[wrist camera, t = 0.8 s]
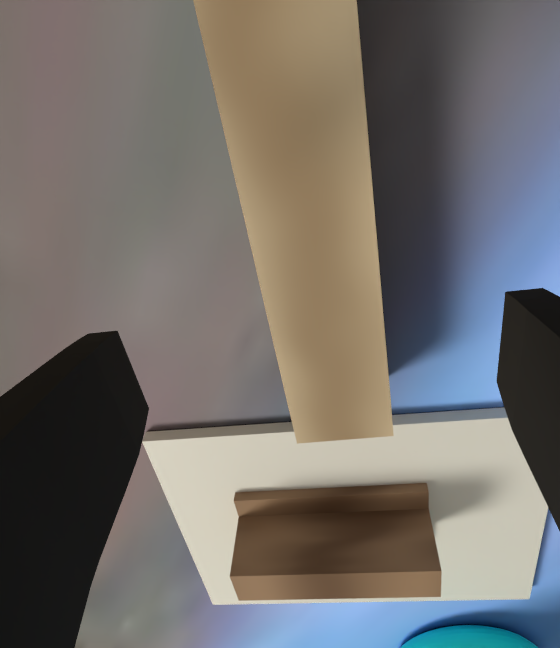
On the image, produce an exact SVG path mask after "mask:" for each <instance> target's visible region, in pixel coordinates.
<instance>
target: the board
mask: <svg viewBox="0 0 560 648" xmlns="http://www.w3.org/2000/svg"><path fill="white" fill-rule="evenodd" d="M392 423H393V434H394V436H387V437H374V438H361V439H349V440H336V441H323V442H311V443H298V444H297V442H296V437H295V433H294V429H293V425H292V422H283V423H268V424H254V425H239V426H224V427H210V428H195V429H180V430H166V431H151V432H146V433H145V436H144V438H143V441H142V442H143V445H144V447H145V449H146V452H147V454H148V456H149V458H150V461H151V463H152V465H153V468H154V470H155V472H156V475H157V477H158V479H159V481H160V484H161V486H162V488H163V491H164V493H165V495H166V498H167V500H168V502H169V504H170V507H171V509H172V511H173V514H174V516H175V518H176V521H177V523H178V525H179V527H180V530H181V532H182V534H183V537H184V539H185V541H186V544H187V546H188V548H189V550H190V553H191V555H192V557H193V560H194V562H195V564H196V566H197V569H198V571H199V573H200V576H201V578H202V580H203V583H204V585H205V587H206V589H207V592H208V594H209V596H210V599H211V601H212V603H213V605H222V604H279V603H336V602H393V601H449V600H506V599H530V594H531V589H532V584H533V579H534V574H535V570H536V565H537V560H538V555H539V550H540V545H541V540H542V536H543V531H544V526H545V521H546V516H547V511H548V506H547V503H546V501H545V499H544V497H543V495H542V493H541V491H540V489H539V487H538V485H537V483H536V480H535V478H534V476H533V474H532V472H531V470H530V468H529V466H528V464H527V461H526V459H525V457H524V455H523V453H522V451H521V449H520V447H519V444H518V442H517V440H516V438H515V436H514V434H513V431H512V429H511V426H510V423H509V420H508V417H507V414H506V411H505V408H504V407H502V408H488V409H473V410H458V411H444V412H429V413H414V414H400V415H392ZM412 483H427V486H428V491H429V512H430V517H431V522H432V527H433V532H434V537H435V541H436V546H437V551H438V556H439V561H440V566H441V570H442V575H441V597H410V598H356V599H302V600H249V601H239V600H238V597H237V595H236V592H235V589H234V587H233V584H232V581H231V579H230V571H231V564H232V557H233V551H234V544H235V538H236V531H237V524H238V518H239V516H238V513H237V510H236V507H235V504H234V495H235V492H251V491H271V490H291V489H311V488H331V487H352V486H372V485H392V484H412Z"/></svg>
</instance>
